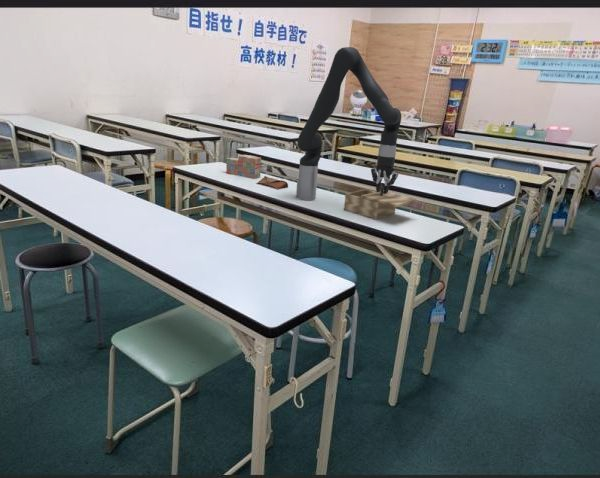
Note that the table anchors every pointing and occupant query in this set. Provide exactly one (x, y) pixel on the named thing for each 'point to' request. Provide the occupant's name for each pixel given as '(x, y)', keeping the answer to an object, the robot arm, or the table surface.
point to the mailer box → (366, 205)
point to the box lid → (388, 198)
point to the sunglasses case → (273, 183)
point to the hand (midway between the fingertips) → (381, 192)
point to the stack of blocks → (244, 166)
